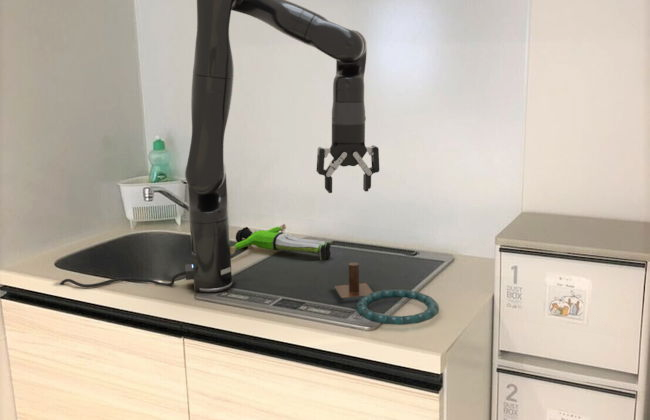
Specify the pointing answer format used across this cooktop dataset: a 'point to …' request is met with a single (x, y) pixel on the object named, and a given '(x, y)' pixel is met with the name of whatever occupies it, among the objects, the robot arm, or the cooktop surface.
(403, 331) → the cooktop surface
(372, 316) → the ring
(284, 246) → the figurine
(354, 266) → the ring toss
